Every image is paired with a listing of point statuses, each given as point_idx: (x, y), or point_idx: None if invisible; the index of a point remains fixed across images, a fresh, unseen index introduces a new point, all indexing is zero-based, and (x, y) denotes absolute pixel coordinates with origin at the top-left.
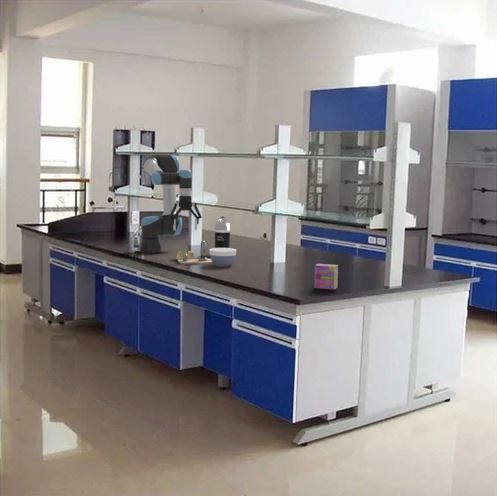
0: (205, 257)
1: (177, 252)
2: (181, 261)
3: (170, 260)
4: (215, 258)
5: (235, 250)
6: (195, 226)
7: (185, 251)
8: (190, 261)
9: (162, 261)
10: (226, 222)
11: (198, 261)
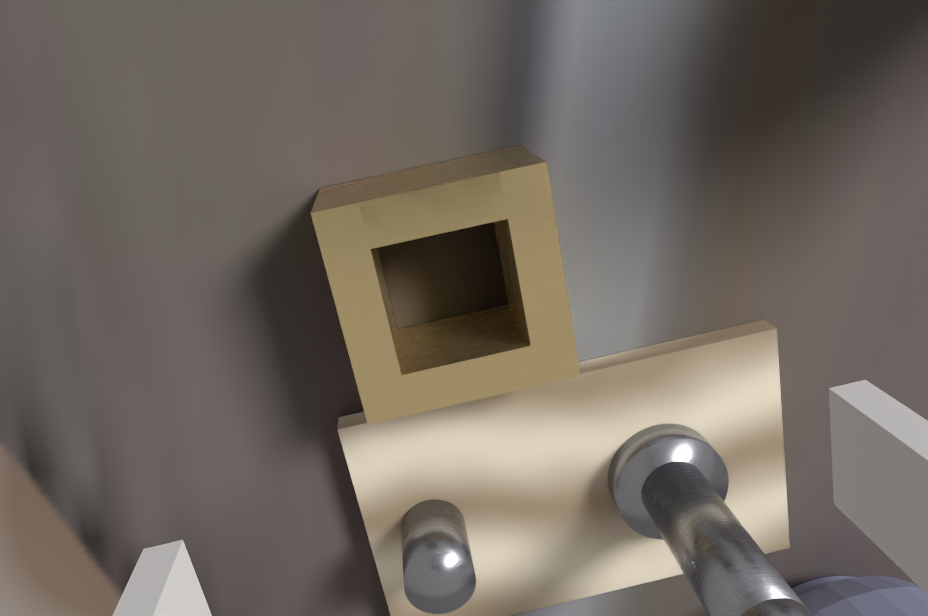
0: (713, 450)
1: (326, 265)
2: (382, 554)
3: (230, 308)
4: None
5: None
6: (896, 515)
7: (465, 226)
8: (495, 551)
9: (119, 392)
10: None
11: (593, 547)
